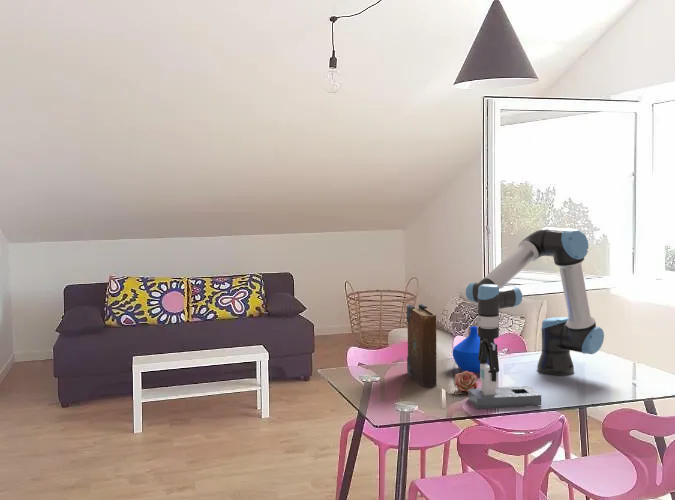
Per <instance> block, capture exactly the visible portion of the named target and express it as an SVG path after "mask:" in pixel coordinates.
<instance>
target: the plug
mask: <svg viewBox="0 0 675 500" xmlns="http://www.w3.org/2000/svg"><path fill="white" fill-rule="evenodd" d="M494 369H495V368H494ZM488 371H490V367H489V365H482V369H481V377H482V381H481V388H482V394H483V395H495V390H489V373H488Z"/></svg>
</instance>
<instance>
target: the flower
mask: <svg viewBox="0 0 675 500" xmlns="http://www.w3.org/2000/svg"><path fill="white" fill-rule="evenodd" d="M477 381H478V376H477V375H476V373H473V372H469V371H462V372H460V373H456V374H455V376H454V382H455V383H454V385H455V386H456V388H457V390H458V391H460V390H461V391H460V392H462V391H464V392H465V391H466V392H467V393H468V389H478V386H479V383H478V382H477Z"/></svg>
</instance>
